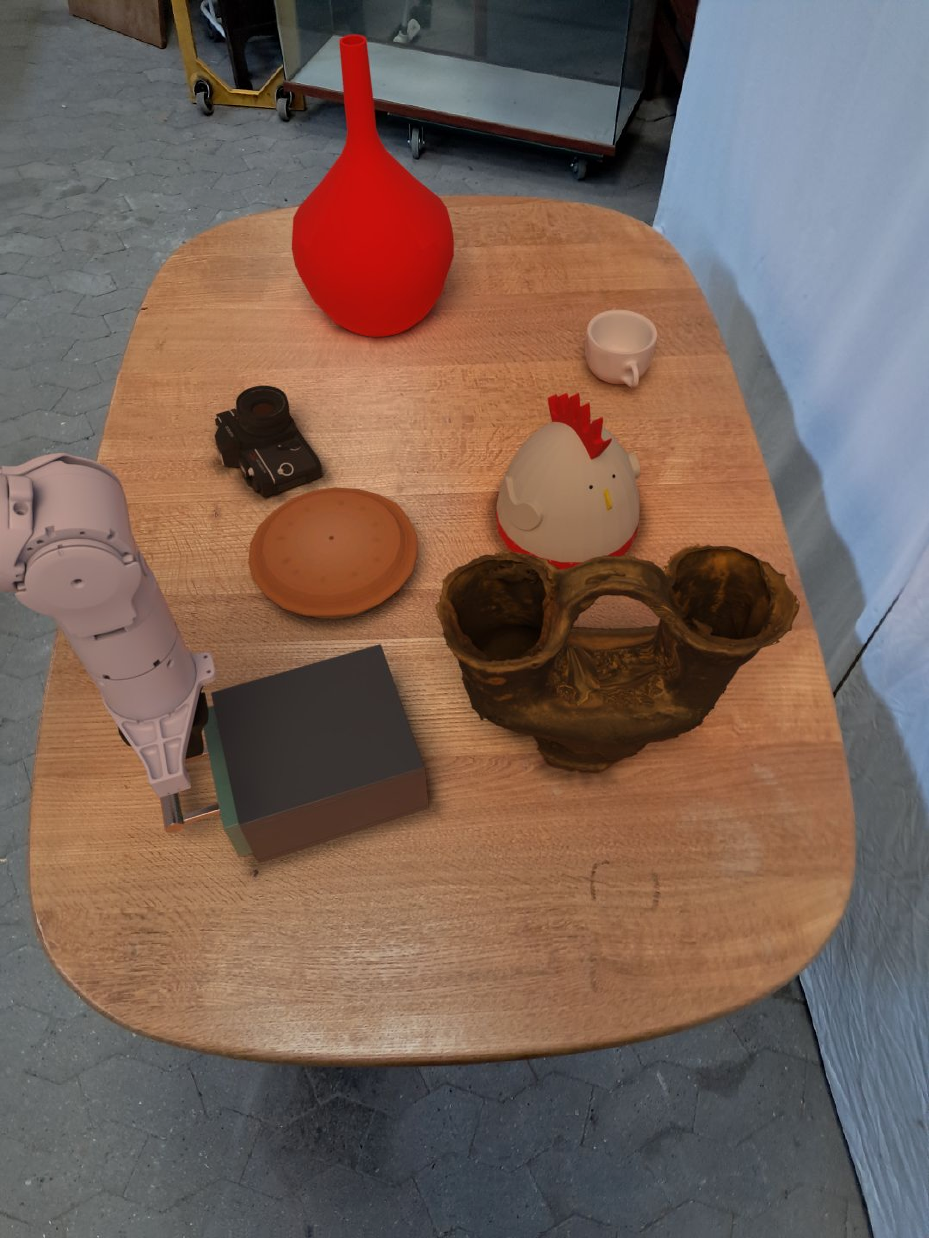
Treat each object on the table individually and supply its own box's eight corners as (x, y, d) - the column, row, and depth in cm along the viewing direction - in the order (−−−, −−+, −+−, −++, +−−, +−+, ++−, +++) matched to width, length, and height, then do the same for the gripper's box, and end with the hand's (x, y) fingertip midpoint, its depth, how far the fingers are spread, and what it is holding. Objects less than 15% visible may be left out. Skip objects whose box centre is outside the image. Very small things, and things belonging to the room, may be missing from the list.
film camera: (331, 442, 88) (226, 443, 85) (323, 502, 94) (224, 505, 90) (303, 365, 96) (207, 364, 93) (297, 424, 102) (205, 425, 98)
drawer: (181, 875, 68) (161, 848, 63) (162, 758, 73) (142, 725, 69) (398, 806, 71) (392, 775, 66) (362, 698, 76) (356, 663, 72)
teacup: (574, 354, 105) (578, 314, 100) (638, 346, 106) (644, 305, 101) (598, 411, 99) (603, 371, 95) (665, 401, 100) (674, 361, 95)
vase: (315, 268, 116) (273, 1, 92) (458, 270, 115) (453, 2, 91) (293, 359, 105) (238, 83, 81) (451, 361, 104) (443, 85, 80)
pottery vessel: (726, 661, 79) (789, 504, 63) (754, 774, 73) (832, 630, 57) (441, 671, 79) (432, 515, 63) (443, 784, 73) (433, 643, 57)
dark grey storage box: (258, 864, 69) (238, 825, 63) (230, 737, 75) (210, 692, 70) (428, 809, 71) (424, 767, 66) (387, 690, 78) (380, 643, 72)
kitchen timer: (548, 595, 84) (560, 479, 72) (469, 504, 91) (468, 384, 79) (666, 535, 88) (695, 415, 76) (582, 452, 95) (597, 330, 83)
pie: (232, 548, 88) (220, 512, 84) (378, 492, 92) (373, 456, 88) (291, 665, 80) (281, 632, 76) (448, 598, 84) (446, 563, 80)
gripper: (217, 721, 50) (264, 822, 61) (178, 535, 58) (225, 654, 69) (86, 759, 49) (158, 856, 60) (65, 564, 57) (132, 680, 68)
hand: (187, 750), depth 64 cm, fingers closed
